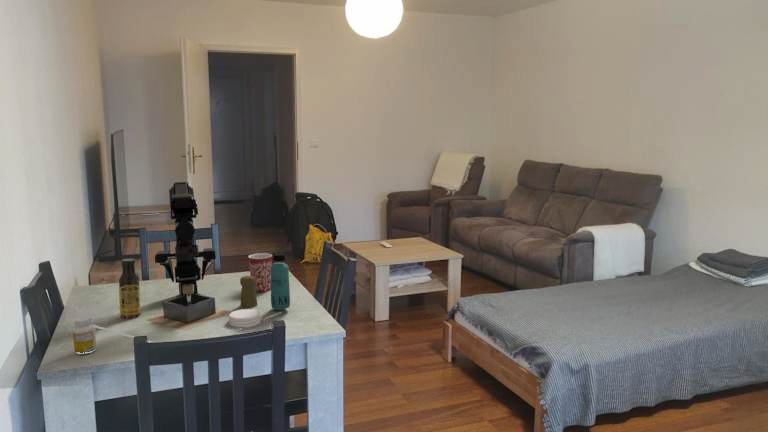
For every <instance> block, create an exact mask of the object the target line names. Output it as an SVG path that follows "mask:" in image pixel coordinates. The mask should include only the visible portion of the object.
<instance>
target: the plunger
mask: <svg viewBox="0 0 768 432" xmlns="http://www.w3.org/2000/svg"><path fill="white" fill-rule="evenodd" d="M182 288H183V294H187V305H188V306H189V305H191V294H193V293H194V284H186V285H183V287H182Z"/></svg>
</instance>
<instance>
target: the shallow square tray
mask: <svg viewBox="0 0 768 432" xmlns="http://www.w3.org/2000/svg"><path fill="white" fill-rule="evenodd" d="M199 294H200V293H199ZM199 294H194V293H193V294H191V305H189V306H188V305H187V294H186V295H183V296H180V297H177V296H174V297H171V298H170V299H167V300H165V301H162V312H163V313H164V318H166V319H170V320H174V321H178V322H182V323H186V324H189V323H191V322H194V321H197V320H200V319H202V318H205V317H208V316H211V315H213V314H216V308H217V307H216V298H215V297H213V296H207V295H203V294H200V295H199Z"/></svg>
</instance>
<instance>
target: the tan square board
mask: <svg viewBox="0 0 768 432" xmlns="http://www.w3.org/2000/svg"><path fill="white" fill-rule="evenodd" d="M215 308H216V314H213V315H211V316H208V317H205V318H202V319H200V320H197V321H194V322H191V323H189V324H186V323H182V322H178V321H174V320H170V319H166V318H164V312H163V313H160V314H157V315H155V316H151V317H148V318H145V319H144V321H149V322H151V323H152V322H153V323H156V324H160V325H163V326H168V327H171V328H175V329H179V330H184V331H188V330H191V329H194V328H196V327H199V326H201V325H205V324H207V323H209V322H211V321H214V320H217V319H221V318H222V317H225V316H227V315H228V316H229V314H230V313H232V312H233V311H232V310H227V309H221V308H218V307H215Z"/></svg>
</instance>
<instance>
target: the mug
mask: <svg viewBox="0 0 768 432" xmlns="http://www.w3.org/2000/svg"><path fill="white" fill-rule="evenodd" d="M247 257H248V263H249V264H248V265H249V273H250V274H249V276H253V277H254V278H255V284H254V288H255V293H264V292H269V291H270V288H271V275H270V267H271V266H272V261H273V254H271V253H267V252H263V253H262V252H261V253H253V254H252V253H251V254H250V255H248V256H247Z"/></svg>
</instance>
